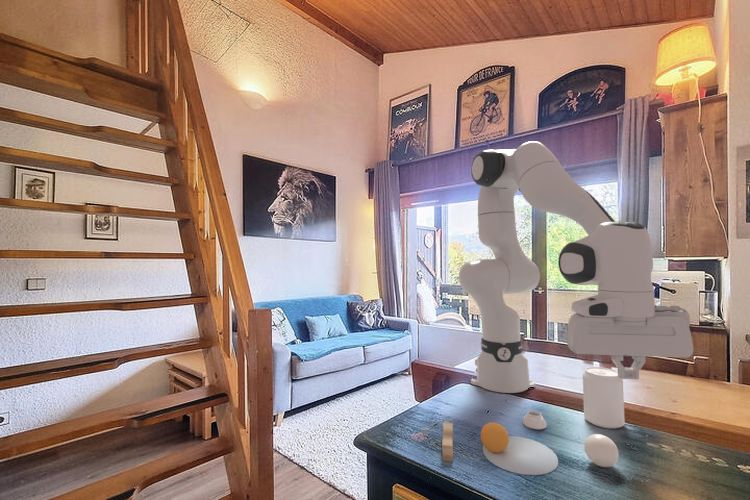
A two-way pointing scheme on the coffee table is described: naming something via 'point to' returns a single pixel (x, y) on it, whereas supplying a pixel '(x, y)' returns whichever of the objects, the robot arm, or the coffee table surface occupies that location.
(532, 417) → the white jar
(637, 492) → the coffee table surface
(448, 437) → the wall
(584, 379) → the beverage can
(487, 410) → the coffee table surface
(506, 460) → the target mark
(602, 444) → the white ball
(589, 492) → the coffee table surface
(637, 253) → the robot arm
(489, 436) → the orange ball
